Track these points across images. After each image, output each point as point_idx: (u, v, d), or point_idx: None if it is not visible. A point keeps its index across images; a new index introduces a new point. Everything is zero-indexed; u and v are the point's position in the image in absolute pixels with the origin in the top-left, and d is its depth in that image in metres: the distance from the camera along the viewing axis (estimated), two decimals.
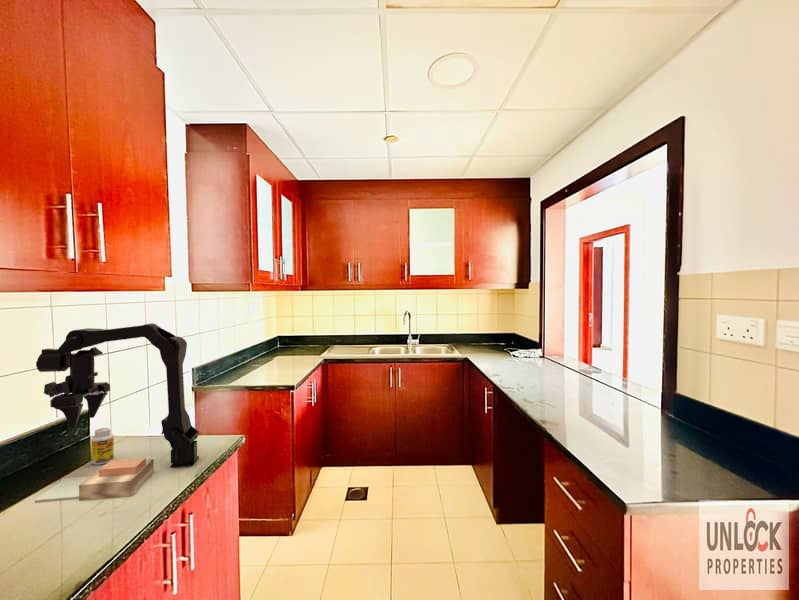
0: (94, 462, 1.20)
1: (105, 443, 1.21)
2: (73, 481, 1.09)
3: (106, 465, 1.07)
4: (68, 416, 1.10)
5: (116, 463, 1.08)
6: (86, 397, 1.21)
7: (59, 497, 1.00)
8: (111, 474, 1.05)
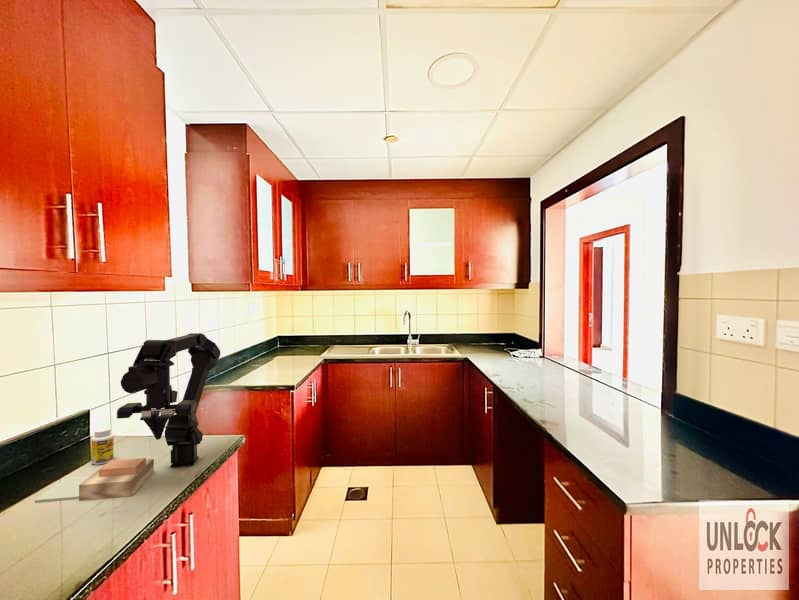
0: (94, 462, 1.20)
1: (105, 443, 1.21)
2: (73, 481, 1.09)
3: (106, 465, 1.07)
4: None
5: (116, 463, 1.08)
6: None
7: (59, 497, 1.00)
8: (111, 474, 1.05)
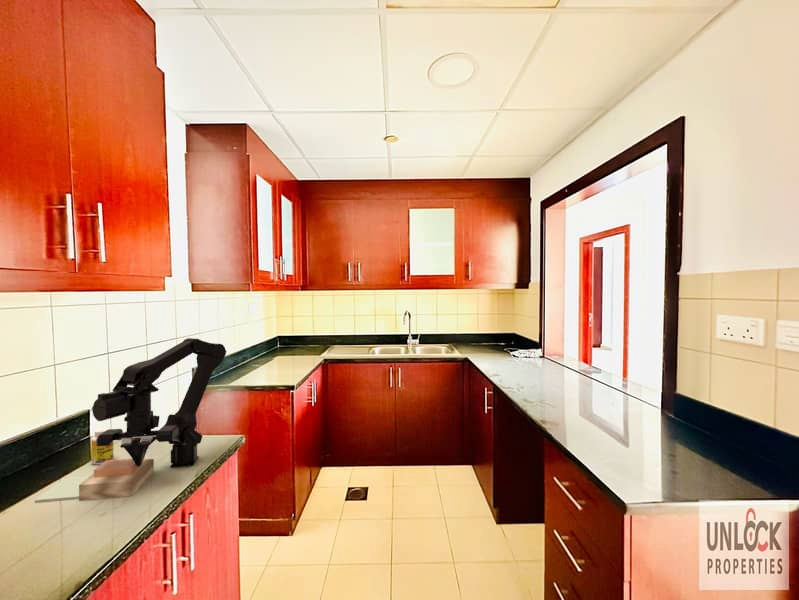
0: (94, 462, 1.20)
1: None
2: (73, 481, 1.09)
3: (101, 465, 1.06)
4: None
5: (111, 463, 1.08)
6: None
7: (59, 497, 1.00)
8: (106, 474, 1.04)
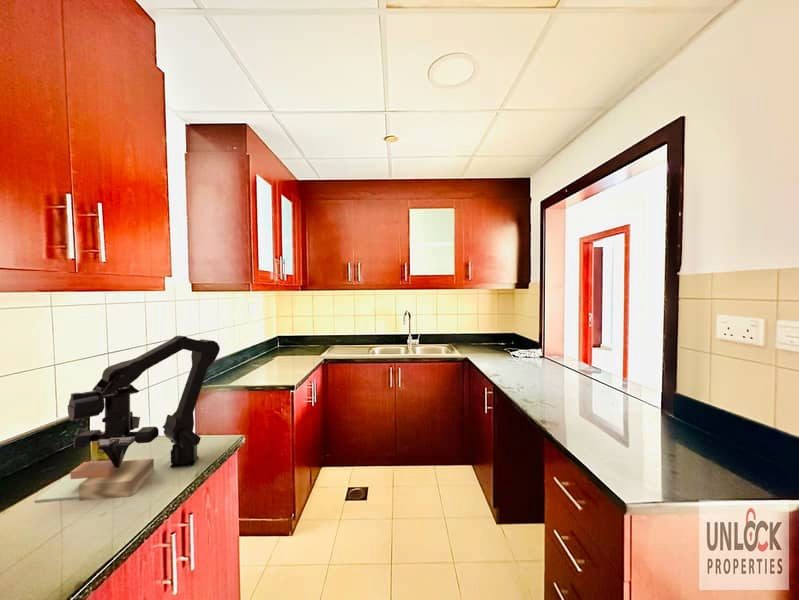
0: None
1: None
2: (73, 481, 1.09)
3: (79, 467, 1.05)
4: None
5: (89, 465, 1.06)
6: None
7: (59, 497, 1.00)
8: (83, 476, 1.03)
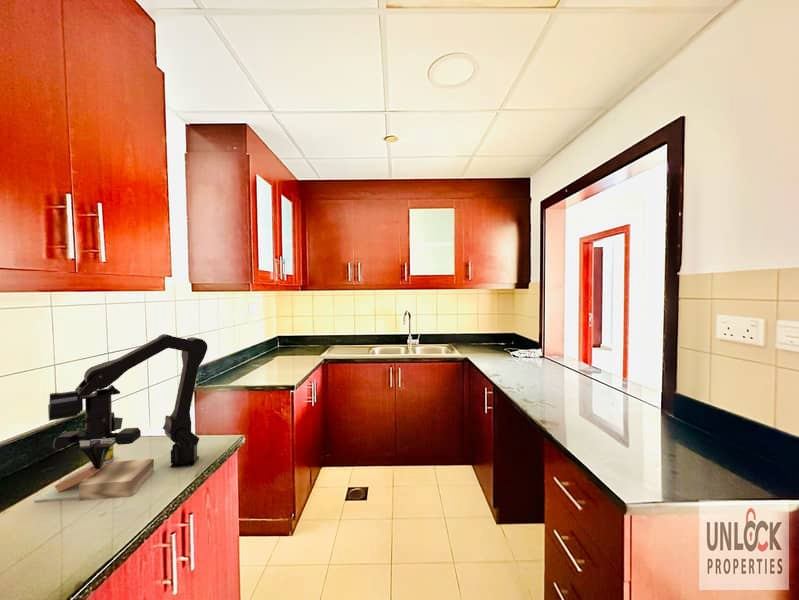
0: None
1: None
2: None
3: (63, 480, 1.05)
4: None
5: (73, 475, 1.06)
6: None
7: (59, 497, 1.00)
8: (69, 485, 1.03)
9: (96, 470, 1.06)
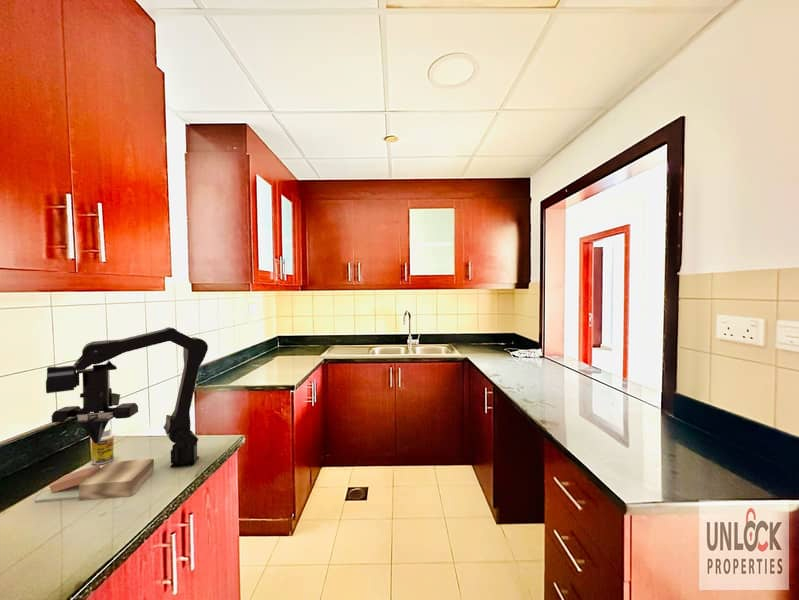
0: (94, 462, 1.20)
1: (105, 443, 1.21)
2: None
3: (58, 480, 1.05)
4: None
5: (68, 476, 1.06)
6: None
7: (59, 497, 1.00)
8: (63, 487, 1.03)
9: None
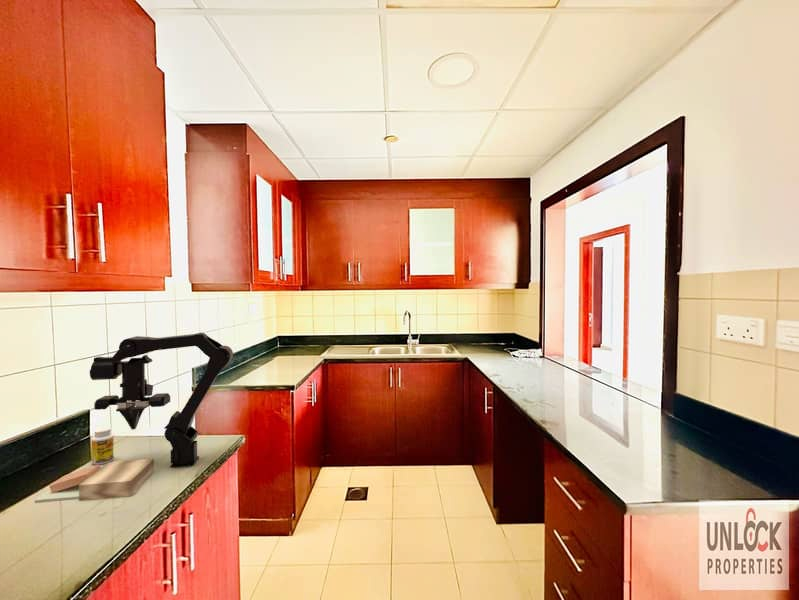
0: (94, 462, 1.20)
1: (105, 443, 1.21)
2: None
3: (58, 480, 1.05)
4: None
5: (68, 476, 1.06)
6: None
7: (59, 497, 1.00)
8: (63, 487, 1.03)
9: None
